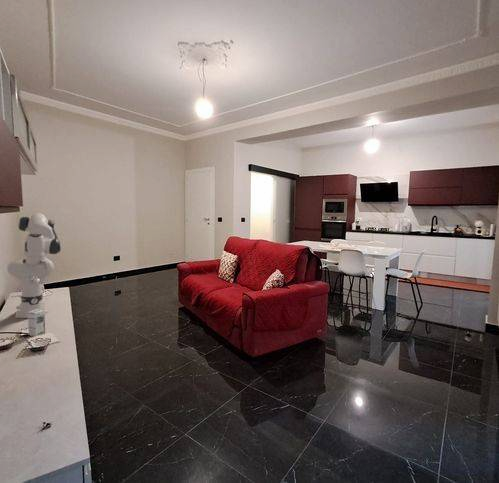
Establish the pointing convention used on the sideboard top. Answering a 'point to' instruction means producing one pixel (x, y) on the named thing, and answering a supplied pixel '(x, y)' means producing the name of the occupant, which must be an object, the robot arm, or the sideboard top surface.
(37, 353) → the sideboard top surface
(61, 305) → the sideboard top surface
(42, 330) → the syrup box
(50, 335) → the mat
